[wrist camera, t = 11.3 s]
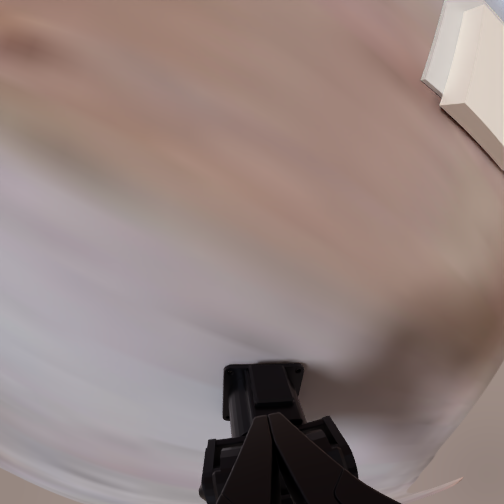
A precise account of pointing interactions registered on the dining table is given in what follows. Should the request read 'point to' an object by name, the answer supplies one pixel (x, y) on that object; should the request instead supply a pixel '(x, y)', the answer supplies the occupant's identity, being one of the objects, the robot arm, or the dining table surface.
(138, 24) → the dining table surface
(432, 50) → the mat
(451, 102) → the beige rectangular block
